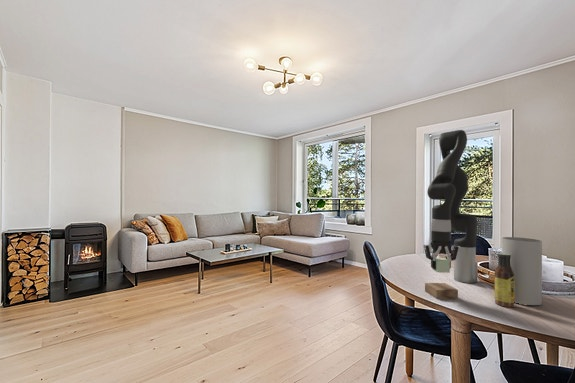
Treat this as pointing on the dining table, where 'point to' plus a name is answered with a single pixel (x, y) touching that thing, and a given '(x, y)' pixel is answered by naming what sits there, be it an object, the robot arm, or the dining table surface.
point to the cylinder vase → (525, 268)
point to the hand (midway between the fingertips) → (440, 269)
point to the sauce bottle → (504, 282)
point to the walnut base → (441, 291)
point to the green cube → (442, 265)
